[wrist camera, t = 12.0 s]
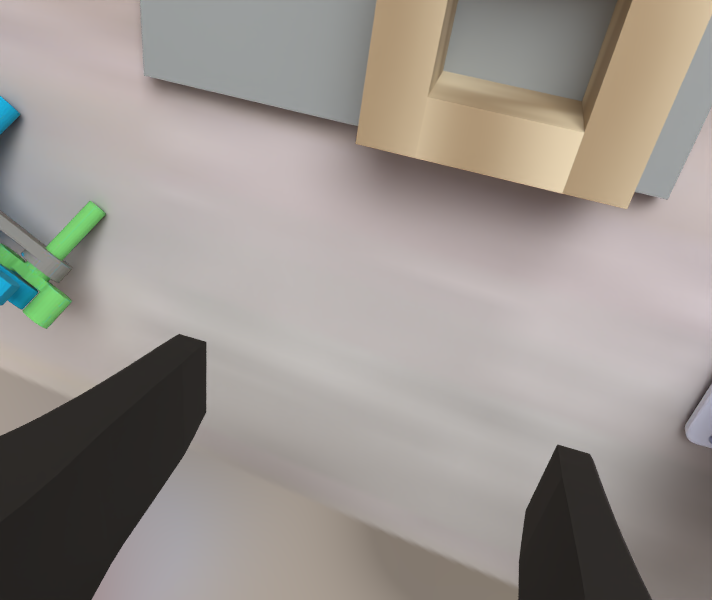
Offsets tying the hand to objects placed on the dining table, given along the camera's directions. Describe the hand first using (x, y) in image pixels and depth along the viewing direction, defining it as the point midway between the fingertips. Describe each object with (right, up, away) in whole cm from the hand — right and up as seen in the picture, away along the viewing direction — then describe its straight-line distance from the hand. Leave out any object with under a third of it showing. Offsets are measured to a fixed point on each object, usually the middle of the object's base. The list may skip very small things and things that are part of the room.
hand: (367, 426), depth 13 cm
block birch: (+4, +10, +3) cm, 11 cm away
